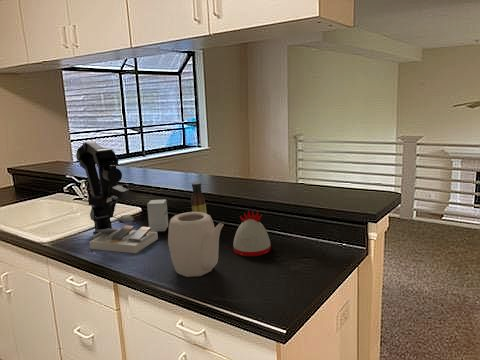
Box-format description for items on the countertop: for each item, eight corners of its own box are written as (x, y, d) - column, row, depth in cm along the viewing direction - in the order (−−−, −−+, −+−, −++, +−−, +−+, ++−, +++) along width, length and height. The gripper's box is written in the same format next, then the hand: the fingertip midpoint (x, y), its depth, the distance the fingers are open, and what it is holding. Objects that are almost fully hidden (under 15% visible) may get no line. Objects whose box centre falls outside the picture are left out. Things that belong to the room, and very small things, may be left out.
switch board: (88, 248, 159) (87, 238, 159) (113, 235, 174) (112, 225, 173) (137, 253, 152) (136, 242, 151) (159, 239, 166) (159, 229, 166)
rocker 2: (113, 240, 159) (112, 236, 159) (125, 228, 167) (124, 225, 166) (122, 241, 158) (121, 237, 157) (134, 229, 165) (133, 225, 165)
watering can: (207, 292, 119) (203, 230, 115) (154, 269, 137) (149, 215, 133) (243, 273, 130) (240, 217, 126) (189, 255, 148) (185, 205, 144)
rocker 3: (130, 241, 157) (129, 238, 156) (142, 230, 164) (141, 226, 164) (140, 242, 155) (139, 238, 154) (151, 230, 163) (151, 227, 162)
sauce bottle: (208, 224, 183) (206, 181, 180) (206, 228, 177) (203, 184, 173) (194, 224, 184) (191, 181, 180) (191, 228, 178) (188, 184, 174)
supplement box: (165, 231, 176) (163, 203, 174) (149, 231, 177) (146, 203, 174) (169, 226, 184) (166, 199, 181) (152, 226, 184) (150, 199, 181)
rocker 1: (95, 233, 161) (95, 229, 161) (109, 232, 170) (109, 228, 170) (104, 234, 160) (104, 230, 160) (118, 233, 168) (118, 229, 168)
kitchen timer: (267, 256, 143) (266, 216, 140) (230, 255, 146) (227, 215, 143) (272, 243, 156) (271, 205, 153) (237, 242, 159) (236, 205, 156)
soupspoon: (124, 225, 191) (136, 222, 196) (124, 218, 190) (136, 216, 195) (101, 216, 206) (113, 213, 211) (101, 209, 205) (113, 207, 210)
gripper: (109, 184, 152) (113, 224, 155) (137, 175, 170) (140, 211, 173) (85, 184, 156) (90, 223, 159) (114, 175, 173) (118, 210, 176)
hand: (111, 216), depth 167 cm, fingers closed
